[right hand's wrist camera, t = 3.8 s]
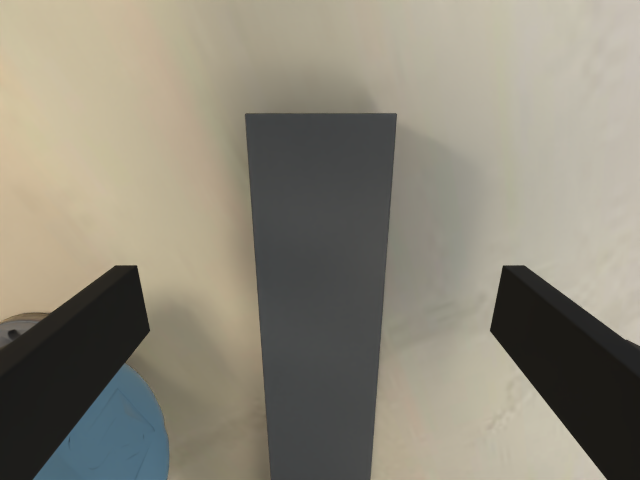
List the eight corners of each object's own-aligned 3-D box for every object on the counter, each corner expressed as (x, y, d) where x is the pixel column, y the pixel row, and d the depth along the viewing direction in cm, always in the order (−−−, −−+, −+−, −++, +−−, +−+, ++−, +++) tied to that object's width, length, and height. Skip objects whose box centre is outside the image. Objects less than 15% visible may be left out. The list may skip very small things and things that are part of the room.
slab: (260, 113, 29) (244, 113, 23) (380, 113, 29) (397, 113, 23) (285, 552, 50) (280, 613, 44) (355, 552, 50) (360, 613, 44)
